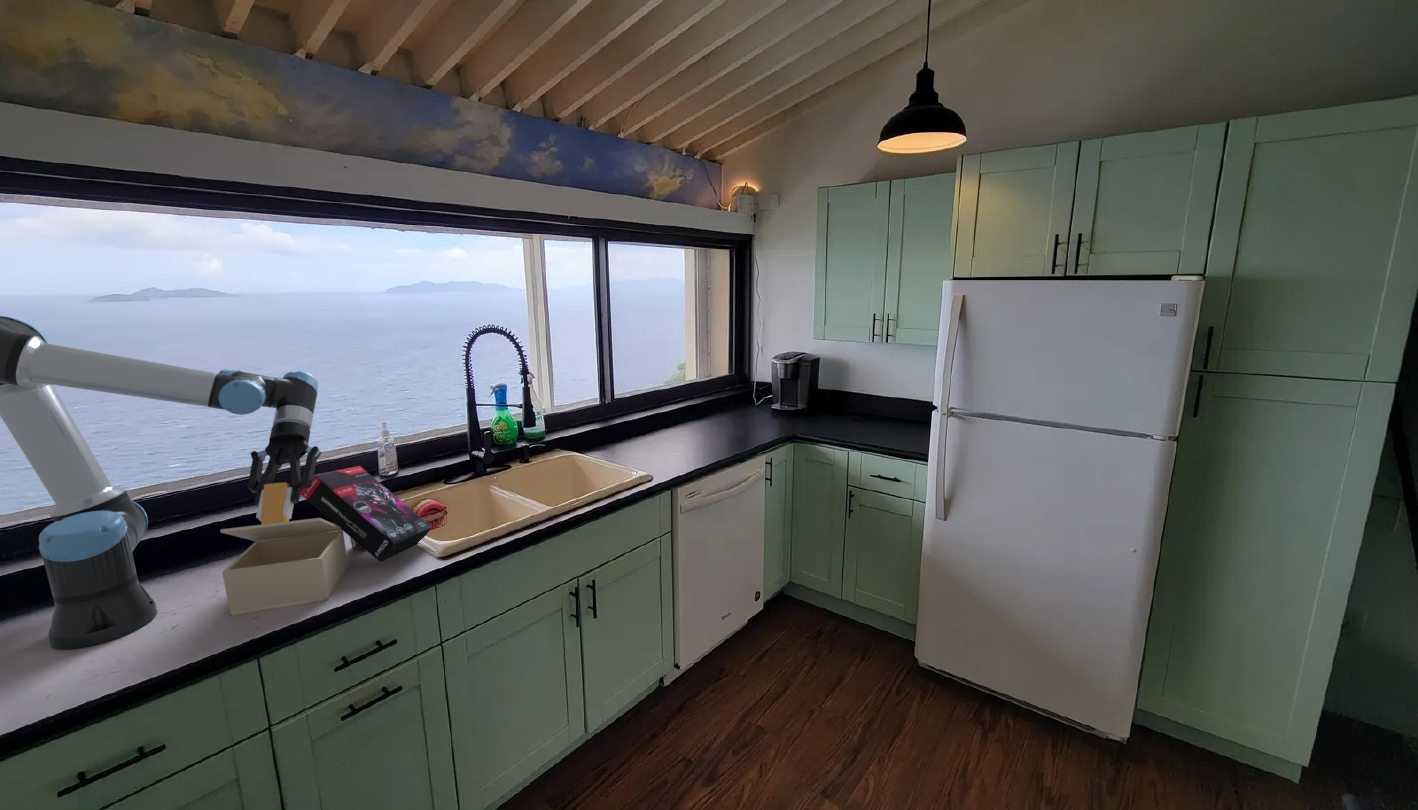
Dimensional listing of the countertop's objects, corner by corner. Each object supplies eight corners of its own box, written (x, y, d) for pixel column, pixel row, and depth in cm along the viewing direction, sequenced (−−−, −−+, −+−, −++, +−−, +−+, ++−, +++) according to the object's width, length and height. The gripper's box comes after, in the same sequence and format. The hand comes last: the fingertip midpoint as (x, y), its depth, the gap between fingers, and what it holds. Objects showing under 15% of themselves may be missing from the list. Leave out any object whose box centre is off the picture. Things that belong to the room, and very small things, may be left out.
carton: (230, 615, 119) (222, 572, 117) (262, 580, 134) (255, 541, 132) (328, 599, 124) (321, 558, 123) (348, 568, 139) (342, 530, 137)
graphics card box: (395, 544, 135) (313, 470, 136) (377, 565, 135) (295, 492, 136) (434, 528, 152) (361, 462, 153) (418, 547, 152) (345, 481, 153)
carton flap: (220, 532, 117) (224, 487, 120) (255, 541, 132) (258, 501, 135) (319, 520, 123) (321, 478, 126) (342, 530, 137) (343, 492, 140)
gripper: (337, 433, 140) (324, 519, 127) (255, 440, 135) (234, 530, 122) (327, 417, 134) (313, 505, 121) (241, 422, 129) (217, 515, 116)
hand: (273, 517), depth 122 cm, fingers closed on carton flap, 4 cm apart
